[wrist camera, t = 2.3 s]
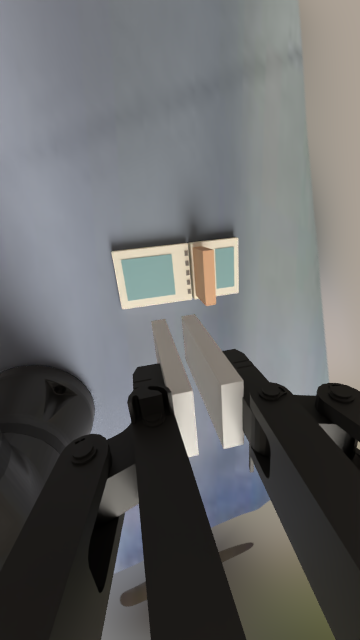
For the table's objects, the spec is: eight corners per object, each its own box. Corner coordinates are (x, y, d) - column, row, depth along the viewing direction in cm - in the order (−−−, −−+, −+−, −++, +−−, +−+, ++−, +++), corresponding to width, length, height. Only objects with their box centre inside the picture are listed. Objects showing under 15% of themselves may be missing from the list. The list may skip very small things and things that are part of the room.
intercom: (192, 296, 34) (204, 310, 29) (188, 242, 32) (200, 246, 26) (235, 290, 35) (254, 302, 30) (234, 237, 32) (255, 239, 27)
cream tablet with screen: (122, 306, 33) (122, 309, 32) (112, 251, 30) (111, 252, 29) (190, 296, 34) (192, 299, 33) (185, 242, 32) (188, 243, 30)
